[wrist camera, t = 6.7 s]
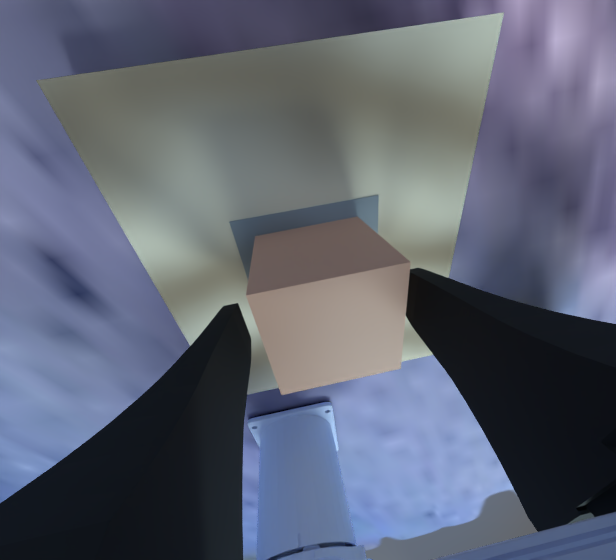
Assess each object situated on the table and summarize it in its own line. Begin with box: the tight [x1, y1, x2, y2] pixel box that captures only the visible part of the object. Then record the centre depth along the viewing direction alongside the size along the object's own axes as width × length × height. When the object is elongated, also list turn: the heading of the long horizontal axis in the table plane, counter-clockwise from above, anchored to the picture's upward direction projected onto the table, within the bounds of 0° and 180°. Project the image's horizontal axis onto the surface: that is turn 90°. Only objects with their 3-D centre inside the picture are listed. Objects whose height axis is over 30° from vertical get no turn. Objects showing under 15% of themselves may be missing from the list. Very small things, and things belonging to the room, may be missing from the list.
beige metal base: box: [36, 13, 504, 395], centre depth 13 cm, size 18×16×2 cm
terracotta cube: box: [246, 216, 411, 395], centre depth 10 cm, size 5×5×5 cm
